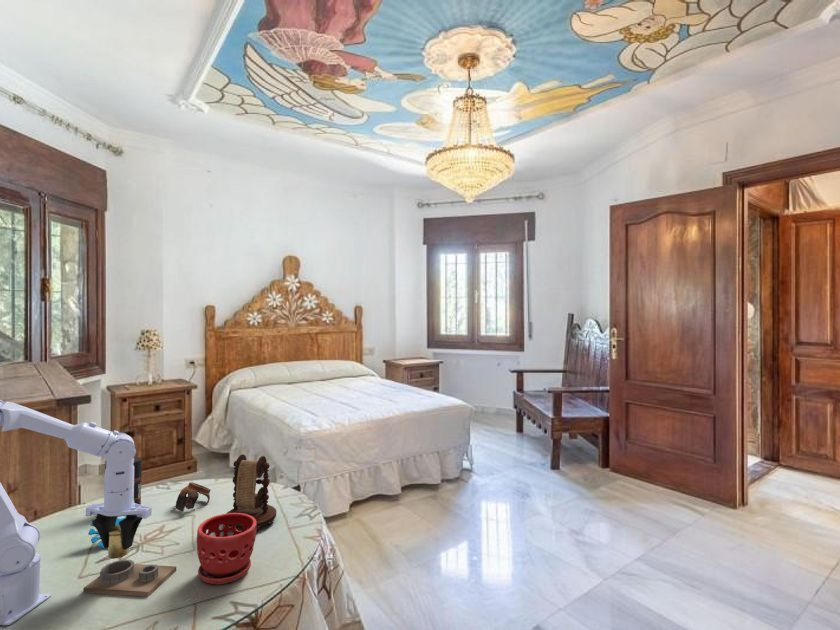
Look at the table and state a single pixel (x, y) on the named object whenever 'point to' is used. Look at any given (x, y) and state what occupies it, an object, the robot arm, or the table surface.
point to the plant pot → (225, 547)
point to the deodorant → (137, 479)
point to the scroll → (252, 491)
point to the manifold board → (129, 578)
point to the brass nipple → (116, 543)
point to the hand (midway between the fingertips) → (118, 546)
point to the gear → (98, 533)
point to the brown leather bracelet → (191, 496)
